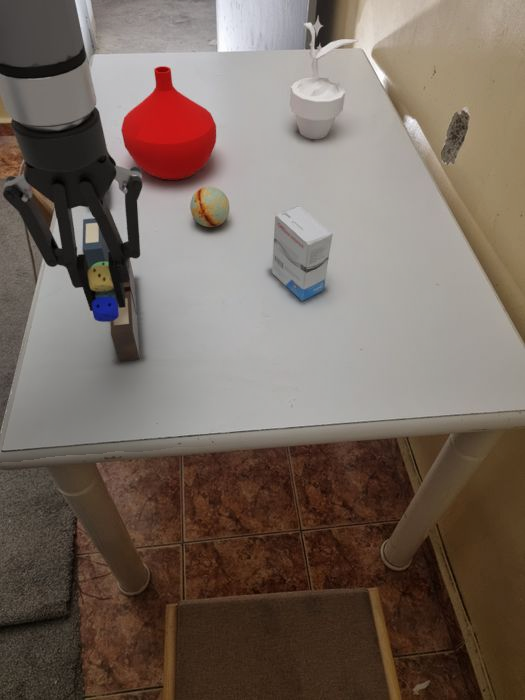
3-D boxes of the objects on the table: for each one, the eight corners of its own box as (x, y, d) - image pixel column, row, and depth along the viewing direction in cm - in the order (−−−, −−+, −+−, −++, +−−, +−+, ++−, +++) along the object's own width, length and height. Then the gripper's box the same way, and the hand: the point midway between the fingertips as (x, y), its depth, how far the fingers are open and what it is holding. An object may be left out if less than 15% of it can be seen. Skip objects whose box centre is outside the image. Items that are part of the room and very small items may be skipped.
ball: (235, 216, 97) (234, 183, 92) (222, 238, 93) (220, 205, 87) (200, 208, 98) (197, 175, 93) (185, 230, 94) (182, 196, 88)
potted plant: (284, 143, 114) (293, 15, 95) (291, 118, 122) (300, -6, 102) (341, 149, 113) (362, 21, 94) (344, 124, 121) (364, 0, 101)
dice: (120, 330, 62) (110, 291, 57) (98, 332, 61) (85, 293, 56) (119, 284, 67) (110, 245, 62) (99, 286, 66) (87, 247, 61)
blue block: (91, 278, 85) (82, 249, 80) (91, 186, 102) (84, 157, 97) (109, 276, 86) (101, 247, 81) (107, 184, 102) (100, 156, 98)
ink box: (324, 290, 85) (334, 233, 76) (300, 302, 83) (308, 244, 74) (293, 261, 89) (299, 203, 80) (270, 272, 87) (273, 213, 78)
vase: (201, 137, 115) (194, 43, 100) (230, 181, 104) (228, 83, 90) (119, 153, 110) (100, 56, 95) (141, 200, 99) (124, 100, 85)
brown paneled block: (118, 361, 74) (110, 333, 70) (116, 281, 85) (108, 252, 80) (139, 359, 75) (132, 331, 70) (134, 279, 85) (128, 250, 81)
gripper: (143, 87, 49) (170, 274, 67) (-35, 96, 46) (43, 287, 65) (147, 126, 44) (175, 315, 62) (-51, 139, 42) (38, 331, 60)
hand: (108, 301), depth 63 cm, fingers closed on dice, 3 cm apart
